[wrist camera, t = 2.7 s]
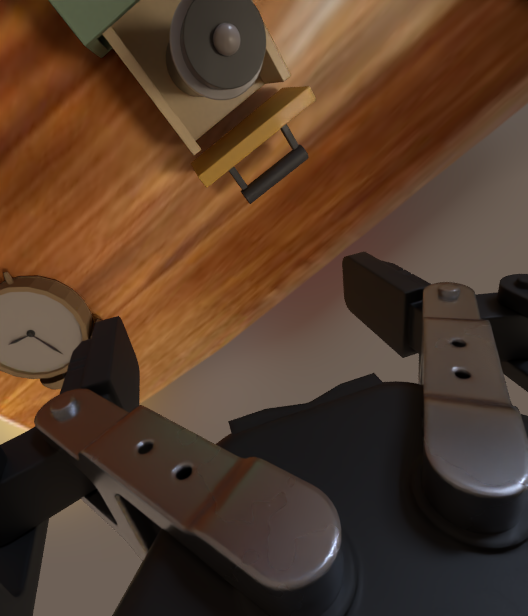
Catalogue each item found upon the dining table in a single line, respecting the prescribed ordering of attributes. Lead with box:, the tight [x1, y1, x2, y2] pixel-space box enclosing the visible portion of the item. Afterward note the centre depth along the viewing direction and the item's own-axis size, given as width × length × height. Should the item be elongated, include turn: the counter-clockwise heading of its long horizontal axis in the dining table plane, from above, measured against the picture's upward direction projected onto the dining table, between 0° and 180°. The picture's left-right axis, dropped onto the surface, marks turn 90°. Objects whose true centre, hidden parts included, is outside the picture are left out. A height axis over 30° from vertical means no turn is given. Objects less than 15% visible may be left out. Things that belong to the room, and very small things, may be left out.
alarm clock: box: [0, 272, 102, 389], centre depth 41 cm, size 11×5×15 cm
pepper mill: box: [166, 0, 266, 100], centre depth 25 cm, size 6×6×17 cm
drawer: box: [103, 0, 316, 204], centre depth 31 cm, size 20×12×7 cm, turn 35°
